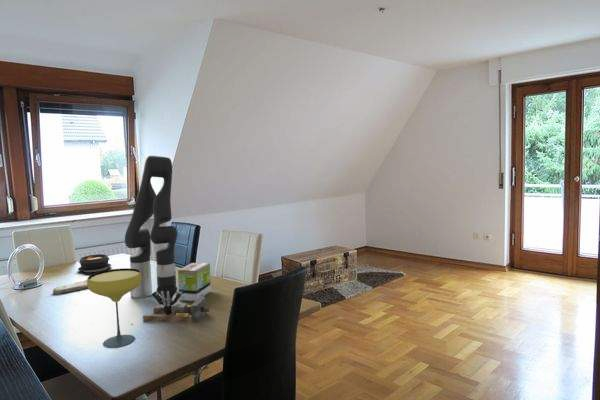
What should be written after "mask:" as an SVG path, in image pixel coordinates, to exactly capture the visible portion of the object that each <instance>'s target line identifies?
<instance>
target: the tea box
mask: <svg viewBox="0 0 600 400" xmlns="http://www.w3.org/2000/svg"><path fill="white" fill-rule="evenodd" d="M177 271H178V272H177V273H178V275H177V276H178V280H177V281H178V291H179V292H182V293H183V294H182V295H181V297H180V298H179V299H178V300H179V301H189V302H190V301H191V302H192V301H193V302H195V301H196V300H197V299H198V298H199V297H205V296H206V295H208V294H209V293H210V292H211V291H212V290H211V289H212V288H211V265H210V263H207V262H205V263H204V262H191V263H189V264H188V265H185V266H183V267H181V268H180V269H178V270H177Z"/></svg>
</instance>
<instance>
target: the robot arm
mask: <svg viewBox="0 0 600 400" xmlns="http://www.w3.org/2000/svg"><path fill="white" fill-rule="evenodd" d="M143 165H144V166H143V171H142V176H141V180H140V181H141V182H140V186H139V189H138V192H137V193H138V194H137V195H136V199H135V203H134V206H133V207H134V208H133V211H132V215H131V217H130V222H129V224H128V226H127V229H126V231H125V235H124V245H125V246H126V247H127V248H129V249H138V250H137V251H136V252H134V253H132V254H131V255H130V256H129V262H130V263H129V266H130V267H129V268H130V269H137V270H139V271H140V272H141V275H142V280H141V283H140V284H139V285H138V286H137V287H136V288H135V289H133V290H132V291H130V292H129V293H130V297H131V298H135V299H141V298H146V297H147V298H148V297H151V296H152V297H153V298H154V300H155V301H156V302H157V303H158V305H162V307H164V313H166V314H165V315H172V314H171V312H172V309H171V307H172V306H173V305H174V304H175V303H178V300H179V298H180V297H181V295H182V294H183V293H182V292H179V289H178V287H177V276H176V273H177V272H176V271H177V270H176V264H175V247H176V242H177V238H178V230H177V228H176V227H175V226H174V225H167V226H166V225H163V226H161V225H162V224H166V223H168V222H170V221H171V220H172V205H171V197H172V195H171V194H172V193H171V191H172V181H173V180H172V178H173V163H172V160H171V158H170V157H166V156H159V155H148V156H147V157H146V159H145V161H144V164H143ZM152 178H162V179H163V182H162V186H161V188H160V190H159V191H158V193H156V192H155V190H154V188H153V185H152V182H151V179H152ZM152 216H153V224H152V228H151V232H150V230H149V229H148V228H147V227H143V225H145V223H146V222H148V221H149V220H150V219H151V218H152ZM151 243H152V244H155V245H160V244H161V245H162V244H168V245H167V246H166V247H163V248H159V249H157V251H156V253H155V254H156V255H155V256H156V258H155V259H156V269H155V270H156V284H157V285H156V286H157V288H156V290H155V291H154V292H153V283H152V282H153V281H152V265H151V254H152V251H151V250H152V247H151V246H152V245H151ZM174 296H175V297H174Z"/></svg>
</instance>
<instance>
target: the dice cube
mask: <svg viewBox="0 0 600 400" xmlns="http://www.w3.org/2000/svg"><path fill="white" fill-rule="evenodd" d="M187 305H188V303H187V302H176V303H175V304H174V305H172V307H171V309H172V314H171V315H176V314H177V313H188V311H187Z"/></svg>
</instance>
